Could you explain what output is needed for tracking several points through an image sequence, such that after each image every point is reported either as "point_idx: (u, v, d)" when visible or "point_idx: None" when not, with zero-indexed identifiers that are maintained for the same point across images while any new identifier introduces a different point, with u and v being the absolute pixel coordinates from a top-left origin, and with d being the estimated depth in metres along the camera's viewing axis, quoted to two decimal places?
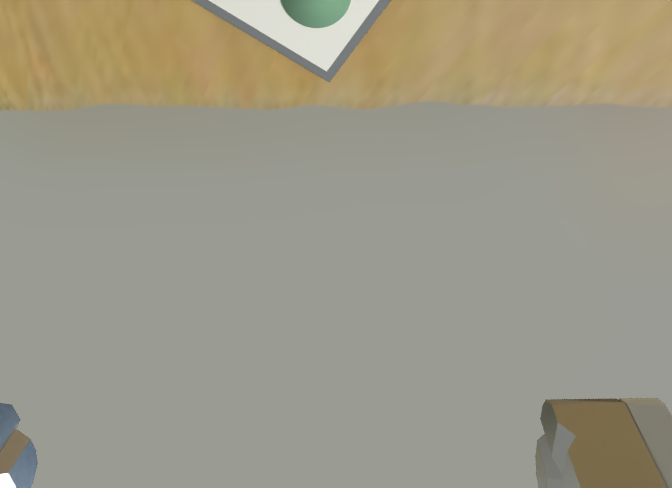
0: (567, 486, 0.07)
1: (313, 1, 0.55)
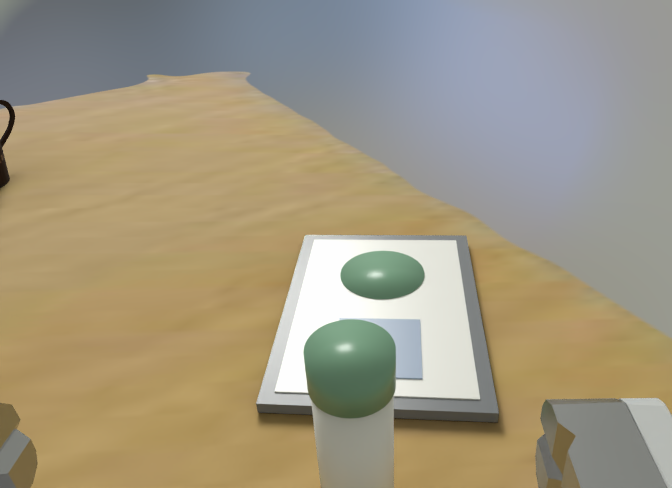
0: (567, 486, 0.07)
1: (391, 271, 0.47)
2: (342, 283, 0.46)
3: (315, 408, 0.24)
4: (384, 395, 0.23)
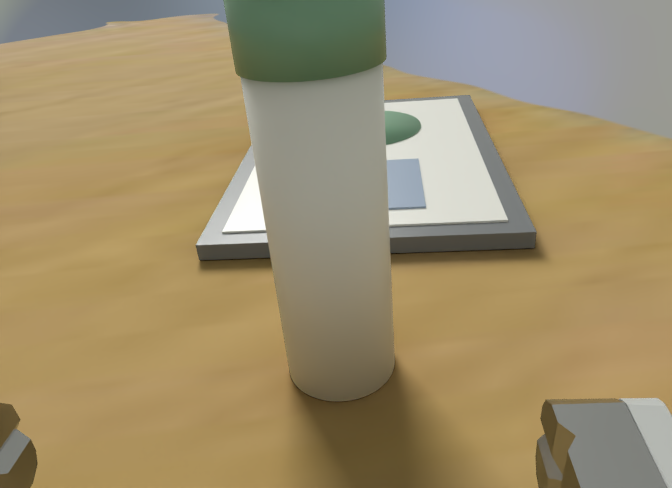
0: (567, 486, 0.07)
1: None
2: None
3: (248, 95, 0.14)
4: (365, 40, 0.13)
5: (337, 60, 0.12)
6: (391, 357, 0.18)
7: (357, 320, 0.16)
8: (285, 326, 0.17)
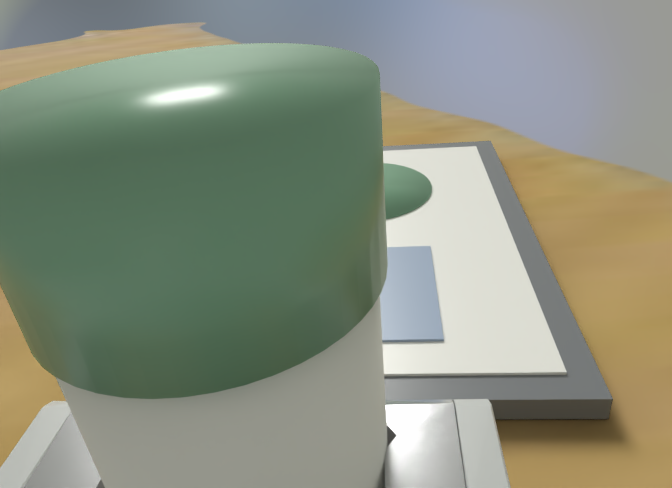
0: None
1: None
2: None
3: None
4: (329, 279, 0.05)
5: (249, 347, 0.04)
6: None
7: None
8: None
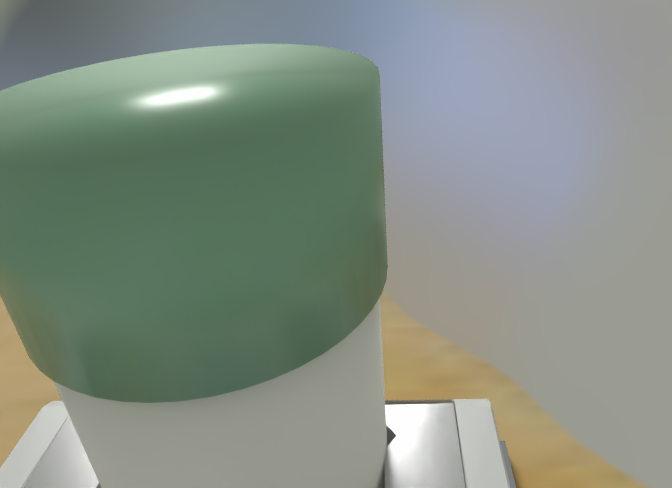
0: None
1: None
2: None
3: None
4: (329, 282, 0.05)
5: (247, 350, 0.04)
6: None
7: None
8: None
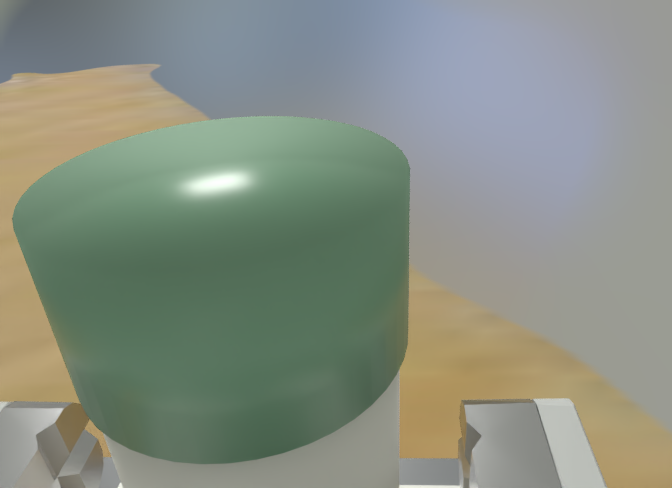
0: (472, 485, 0.07)
1: None
2: None
3: None
4: (364, 357, 0.05)
5: (291, 420, 0.05)
6: None
7: None
8: None
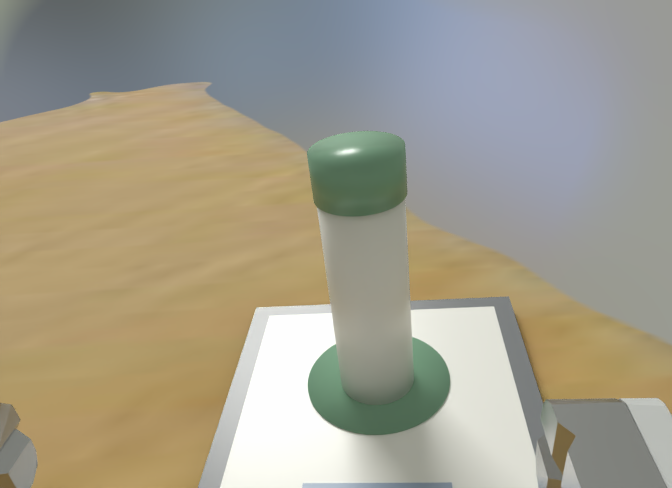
0: (567, 486, 0.07)
1: None
2: (310, 402, 0.27)
3: (323, 218, 0.22)
4: (395, 190, 0.21)
5: (379, 204, 0.21)
6: (411, 374, 0.27)
7: (389, 351, 0.25)
8: (340, 355, 0.26)
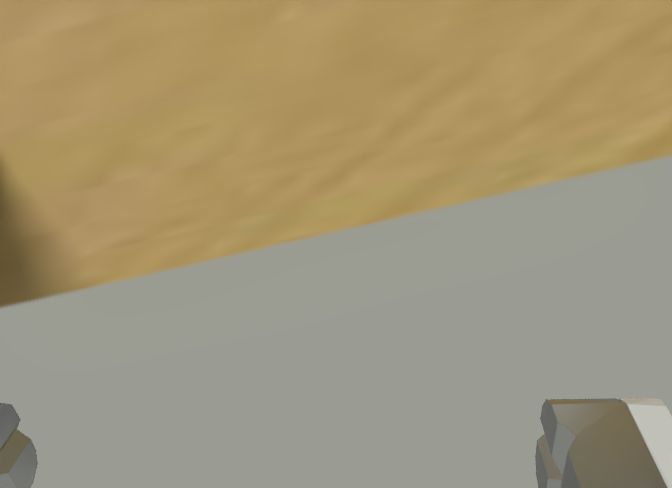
0: (567, 486, 0.07)
1: None
2: None
3: None
4: None
5: None
6: None
7: None
8: None
